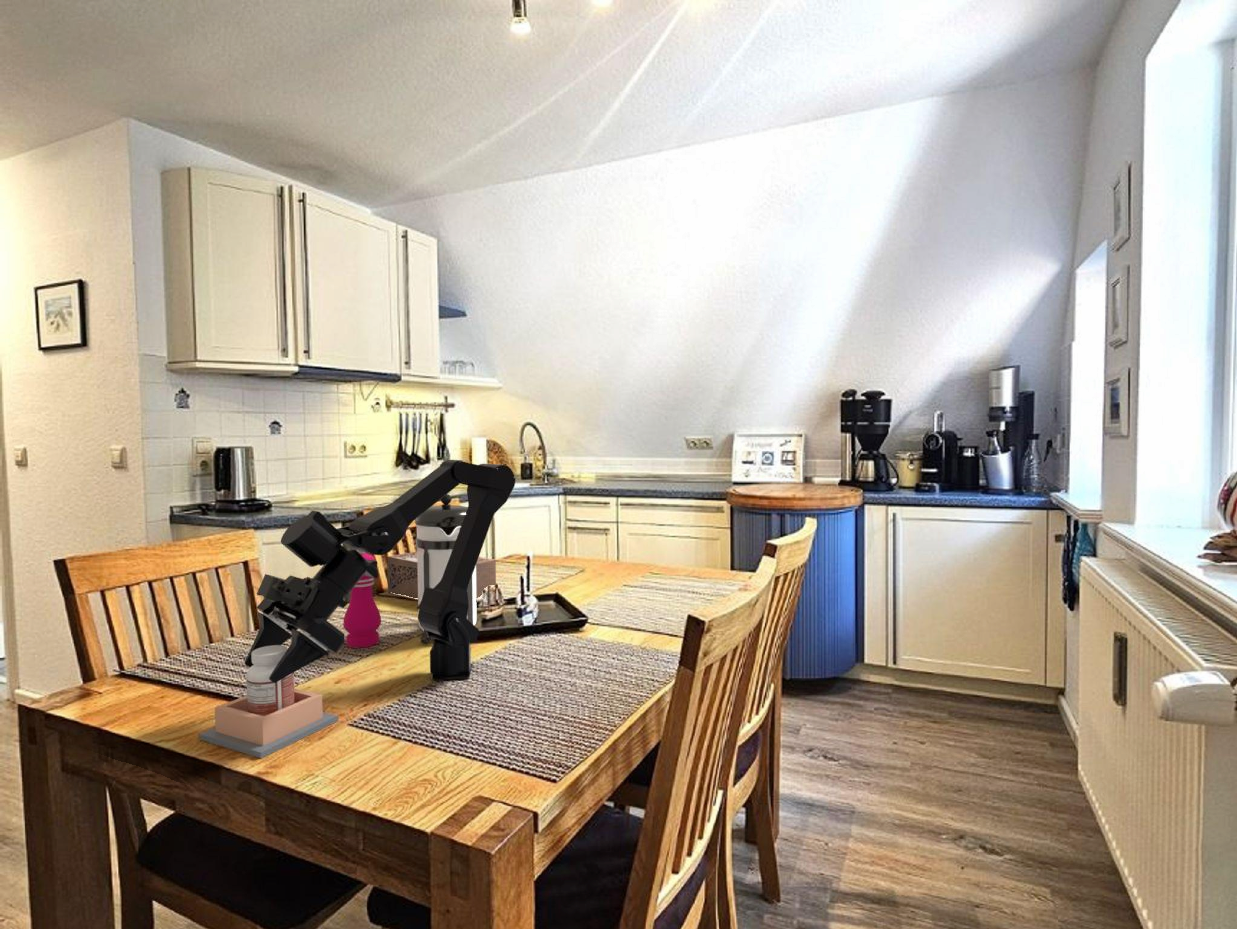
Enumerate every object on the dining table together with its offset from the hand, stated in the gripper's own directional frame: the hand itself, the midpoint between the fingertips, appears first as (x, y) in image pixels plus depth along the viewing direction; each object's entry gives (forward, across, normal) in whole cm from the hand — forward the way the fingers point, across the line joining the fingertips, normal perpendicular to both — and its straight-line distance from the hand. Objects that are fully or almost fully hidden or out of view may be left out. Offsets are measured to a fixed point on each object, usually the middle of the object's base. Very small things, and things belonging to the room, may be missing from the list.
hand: (258, 673), depth 101 cm
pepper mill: (-15, -28, +28) cm, 42 cm away
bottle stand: (+5, 0, +7) cm, 9 cm away
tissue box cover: (-38, -51, +52) cm, 82 cm away
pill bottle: (+5, 0, +7) cm, 8 cm away
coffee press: (-26, -22, +39) cm, 51 cm away
